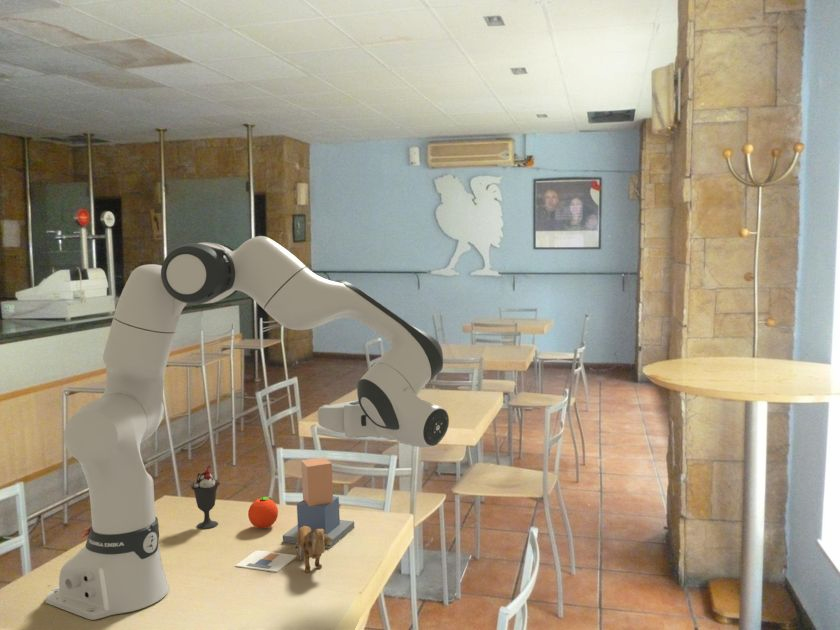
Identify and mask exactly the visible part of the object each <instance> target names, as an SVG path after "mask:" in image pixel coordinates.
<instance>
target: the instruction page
mask: <svg viewBox="0 0 840 630" xmlns="http://www.w3.org/2000/svg"><path fill="white" fill-rule="evenodd" d="M296 556H297V554H288V553H282V552H280V553H279V552H273V551H266V550H257V549H256V550H255V551H254V552H251V554H249V555H248V556H246V557H245V558H243V559H242V560H241V561H239V562H238V563H237V564H235V567H237V568H243V569H251V570H258V571H266V572H271V573H272V572H273V573H279V571H280V570H283V568H285V567H286V566H287V565H288V564H290V563H291V562H292V561H293V560H294V559H296Z"/></svg>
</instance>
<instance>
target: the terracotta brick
mask: <svg viewBox="0 0 840 630" xmlns="http://www.w3.org/2000/svg"><path fill="white" fill-rule="evenodd" d="M300 462H301V463H300V465H301V487H302V500H304V501H305V502H306V503H307V505H308V506H314V505H320V504H326V503H332V502H333V496H334V491H333V488H334V487H333V486H334V485H333V464H332V462H331V461H330V460H328V458H326V457H325V456H324V457H317V458H309V459H302V460H301V461H300Z"/></svg>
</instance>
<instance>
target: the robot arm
mask: <svg viewBox="0 0 840 630" xmlns="http://www.w3.org/2000/svg"><path fill="white" fill-rule="evenodd" d="M237 292H242V293H243V294H246V295H247V296H249V297H250V298H251V299H252V300H253V301H255V303H257V305H258V306H260V307H261V308H262V309H263V310H264V312H265V313H266V314H267V315H269V317H271V319H274V321H275V322H277V323H278V324H279V325H280V326H282V327H284V328H286V329H289V330H294V331H306V330H311V329H314V328H318V327H320V326H321V327H322V326H323V325H325V324H328V323H331V322H333V321H336V320H338V319H339V320H340V319H345V318H346V319H354V320H357V321H359V322H361V323H362V324H363V325H365V326H366V327H367V328H369V329H370V330H372V331H373V332H375V333H377V334H378V335H379V336H380V337H382V338H383V339H384V340H386V341H387V342H389V343H390V348H388V350H387V351H386V352H385V353H384V354H383V355H382V356H381V357H380V358H379V359H378V360H377V362H375V363H374V364H373V365H371V367H370V368H369V369H368V370H367V372H365V373H364V374H363V375H362V377H361V378H360V379H359V380H358V381H357V385H356V391H357V393H356V394H357V400H352V401H345V402H338V403H335V404H330V403H329V404H322V406H320V407H318V409H317V421H318V425H319V426H320V427H321V428H324V429H326V430H329V431H332V432H337V433H343V434H344V435H345V437H347V438H350V439H353V438H354V439H355V438H368V437H370V438H377V439H381V438H382V439H386V440H389V441H391V440H393V441H394V440H395V441H396V442H398V443H400V444H403V445H408V446H411V447H416V448H417V447H418V448H432V447H436V446H437V445H438V444H440V442H441V440H443V439H444V437H445V435H446V434H447V431H448V430H449V424H450V417H449V414H448V411H447V410H446V409H445V408H444V407H442V406H440V405H438V404H435V403H433V402H430V401H428V400H424V399H421V398H420V397H419V396H418V394H419V393H420V392H422V390H423V389H424V388H425V387H426V385H427V384H428V383H430V382H431V381H432V380H433V379H434V378H435V377H436V376H437V375H438V374H439V373H440V372H441V371H442V370H443V367H444V354H443V350H442V346H441V344H440V343H439V342H438V340H437V339H436V338H435V337H433V336H432V335H430V334H429V333H427V331H424V330H423V329H420V328H418V327H416V326H414V325H412V324H410V323H409V322H408V321H406V320H404V319H403V318H402V317H400V316H399V315H397V314H396V313H394V312H393V311H392V310H390V309H389V308H388V307H387V306H384V305H383V304H382V303H381V302H379V301H378V300H376V299H375V298H373V297H372V296H371V295H369V294H367V293H366V292H365V291H363V290H362V289H360V287H359V288H358V287H357V286H355V285H354V284H352V283H350V282H348V281H346V280H343V279H339V280H338V279H337V280H332V279H331V280H330V279H328V278H326V277H322V276H320V275H318V274H316V273H315V272H313V271H312V270H311V269H310V268H309V267H308V266H307V265H306V264H305V263H303V262H302V261H301V260H300V259H299V258H298V257H297V256H296V255H295V254H293V253H292V252H290V251H289V250H288V249H287V248H285V247H284V246H282V245H281V244H280V243H278V242H276V241H275V240H274V239H271V238H270V237H268V236H264V235H258V236H254V237H251V238H249V239H247V240H246V241H244V242H243V243H241V245H239V246H238V247H237V248H236V249H233V248H232V247H230V246H228V245H225V244H220V243H215V242H209V241H202V242H196V243H194V242H190V243H184V244H182V245H179V246H178V247H175V248H174V249H172V250H171V251H170V252H168V254H167V255H166V257H164V260H163V262H162V265H161V264H155V263H154V264H153V263H152V264H143V265H139V266H138V267H136V268H135V269H133V270H132V272H131V273H130V275H129V277H128V279H127V280H126V282H125V285H124V287H123V288H122V292H121V294H120V296H119V299H118V301H117V305H116V307H115V311H114V314H113V318H112V322H111V325H110V329H109V332H108V336H107V339H106V344H105V347H104V351H103V354H102V359H103V362H104V364H105V372H106V381H105V388H104V392H103V394H102V395H101V397H99V398H97V399H95V400H93V401H90V402H88V403H86V404H85V405H83V406H82V407H81V408H79V409H78V410H77V412H75V413H74V415H73V416H72V417H71V418H70V419H69V420H68V422H67V423H66V425H65V428H64V431H63V441H64V445H65V448H66V449H67V451H68V453H69V454H70V455H71V456H72V457H73V458H74V459H76V460H77V461H78V462H79V464H80V466H81V468H82V471H83V474H84V477H85V480H86V483H87V484H86V485H87V487H88V493H89V503H90V504H89V505H90V513H91V514H90V515H91V524H92V525H91V526H90V527H88V528H87V529H84V530H82V531H81V532H80V534H82V535H81V536H80V538H81V539H83V538H84V537H87V539H86V542H85V546H83V547H82V548H81V549H80V550H79V551H77V553H75V554H74V555H73V556H71V558H70V559H68V560H67V561H66V562H65V563H64V564H63V566H62V567H61V568H60V573H59V579H58V580H59V581H58V585H57V586H56V587H54V588H53V589H52V590H50V591H49V593H48V594H47V595H46V596H45V603H46V604H48V605H51V606H53V607H56V608H59V609H62V610H63V611H67V612H68V613H71V614H74V615H77V616H80V617H83V618H85V619H88V620H90V621H91V620H92V621H93V620H99V619H102V618H106V617H109V616H113V615H118V614H119V615H120V614H125V613H130V612H131V613H132V612H134V611H137V610H141V609H144V608H147V607H149V606H152V605H153V604H156V603H157V602H159V601H161V600H162V599H163V598H164V597H166V595H167V594H168V593H169V591H170V586H169V583H168V580H167V575H166V571H165V570H164V566H163V561H162V556H161V550H160V545H159V539H160V529H159V528H160V525H159V519H158V517H157V515H156V507H155V506H156V505H155V489H154V478H153V477H152V476H151V475H150V474H149V473H148V472H147V469H146V467H145V465H144V461H143V458H142V454H141V443H143V442H144V441H146V440H148V439H149V438H150V437H152V435H153V434H155V432H156V431H157V429H158V427H160V424H161V423H162V422H163V418H164V414H165V407H164V403H163V398H164V397H163V395H164V382H165V375H166V369H167V364H168V360H169V357H170V353H171V350H172V346H173V342H174V338H175V335H176V332H177V327H178V324H179V320H180V316H181V314H182V311H184V310H183V309H184V308H185V307H186V306H187V304H188V305H200V304H201V305H204V304H205V305H206V304H214V303H217V302H219V301H221V300H225V299H228V298H230V297H232V296H233V295H235V294H236V293H237ZM83 533H84V534H83Z"/></svg>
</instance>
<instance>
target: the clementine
mask: <svg viewBox="0 0 840 630" xmlns="http://www.w3.org/2000/svg"><path fill="white" fill-rule="evenodd" d="M248 508H249V509H248V511H247V512H248V514H247V516H248V520H249V522H250V523H251V525H253V526H254V528H257V529H267V528H270V527H272V525H274V523H276V521H277V519H278V517H279V516H278V515H279V508H278V506H277V504H276V503H275V502H274V500H273V499H272V497H271V496H269V497H268V496H263V497H261V498H258V499H255V501H253V502H252V503H251V504H250V506H249V507H248Z"/></svg>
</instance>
